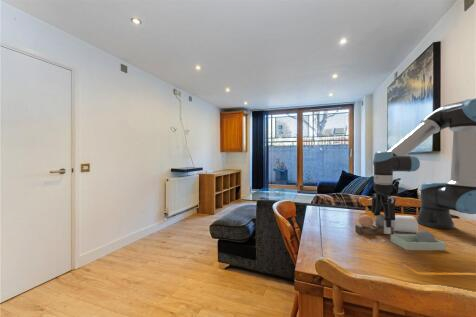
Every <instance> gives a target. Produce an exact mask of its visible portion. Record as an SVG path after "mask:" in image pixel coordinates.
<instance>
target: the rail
mask: <svg viewBox="0 0 476 317" xmlns="http://www.w3.org/2000/svg"><path fill="white" fill-rule="evenodd" d="M354 229H355V233H357V234H358V235H362V234H364V235H365V234H366V235H378V234H379V235H385V234H384V228H382V227H379V226H375V224H373V225H372V226H371V227H368V228H366V227H363V226H362V225H358V224H355V228H354ZM394 232H395V231H394V227H391V234H394ZM391 234H390V235H391Z"/></svg>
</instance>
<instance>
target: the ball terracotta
mask: <svg viewBox="0 0 476 317" xmlns="http://www.w3.org/2000/svg"><path fill="white" fill-rule="evenodd" d="M358 222H359V225H360V226H363V227H366V228H368V227H371V226H372V225H374V219H373V218H372V217H371V216H370V215H368V214H362V215H360V216H359V218H358Z"/></svg>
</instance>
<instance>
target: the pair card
mask: <svg viewBox="0 0 476 317" xmlns="http://www.w3.org/2000/svg"><path fill="white" fill-rule="evenodd" d="M366 240H368V241H369V242H370V243H372V244H373V245H375V242H376V243H378V242H379V240H378V239H375V238H371V239H370V240H369V239H368V238H366ZM380 241H381V242H384V243H387V242H388V240H387V239H383V238H381V239H380Z"/></svg>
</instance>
